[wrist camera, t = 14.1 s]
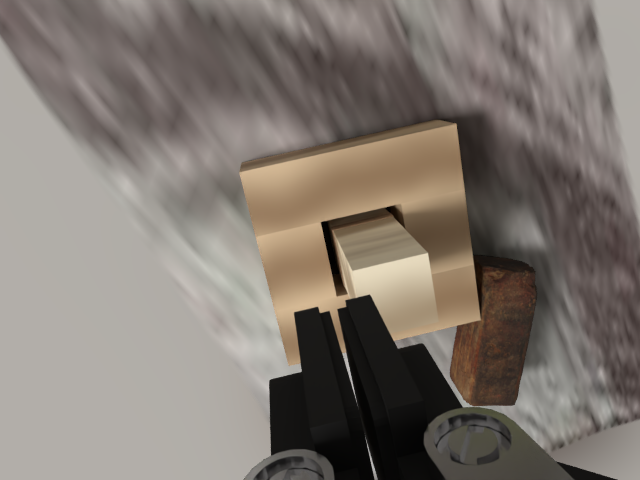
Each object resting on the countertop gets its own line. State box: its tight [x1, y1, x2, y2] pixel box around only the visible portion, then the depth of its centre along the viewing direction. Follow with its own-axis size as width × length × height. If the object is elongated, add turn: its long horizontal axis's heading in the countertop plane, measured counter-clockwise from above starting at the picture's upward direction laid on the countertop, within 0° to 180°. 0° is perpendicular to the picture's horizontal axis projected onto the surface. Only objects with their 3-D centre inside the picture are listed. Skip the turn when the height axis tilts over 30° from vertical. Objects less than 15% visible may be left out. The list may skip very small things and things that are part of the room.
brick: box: [450, 255, 537, 406], centre depth 40 cm, size 11×4×5 cm, turn 176°
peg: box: [327, 208, 439, 334], centre depth 33 cm, size 4×4×12 cm
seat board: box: [239, 119, 481, 366], centre depth 37 cm, size 14×14×4 cm
